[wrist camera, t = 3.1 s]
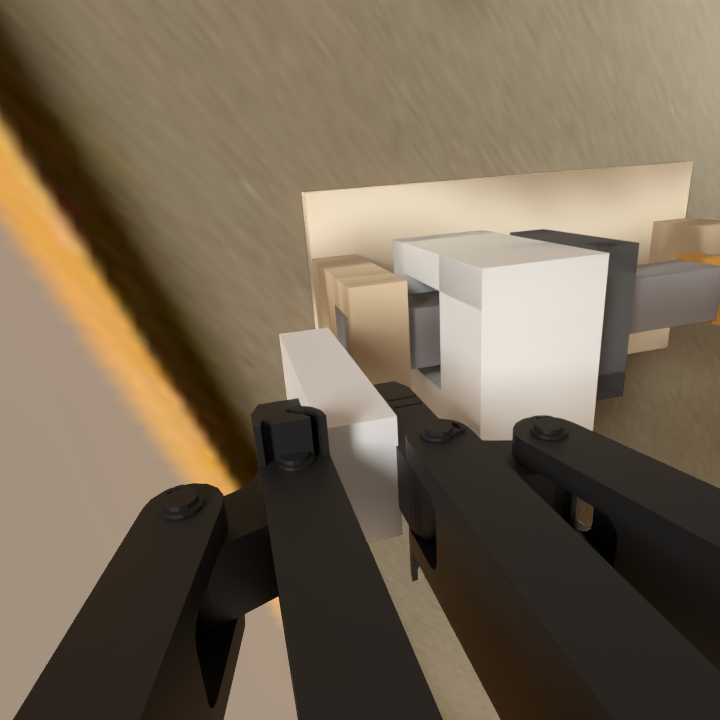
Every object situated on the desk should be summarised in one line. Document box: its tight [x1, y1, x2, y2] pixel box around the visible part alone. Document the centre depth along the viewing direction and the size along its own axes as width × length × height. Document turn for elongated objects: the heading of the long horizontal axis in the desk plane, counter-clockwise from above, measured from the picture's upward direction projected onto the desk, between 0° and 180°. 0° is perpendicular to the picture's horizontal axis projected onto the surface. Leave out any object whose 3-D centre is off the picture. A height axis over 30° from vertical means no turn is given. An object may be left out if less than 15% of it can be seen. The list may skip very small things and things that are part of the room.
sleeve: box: [393, 230, 609, 441], centre depth 19 cm, size 6×4×8 cm, turn 3°
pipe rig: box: [302, 161, 720, 391], centre depth 23 cm, size 10×20×8 cm, turn 94°
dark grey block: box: [510, 229, 639, 401], centre depth 21 cm, size 6×2×6 cm, turn 4°
